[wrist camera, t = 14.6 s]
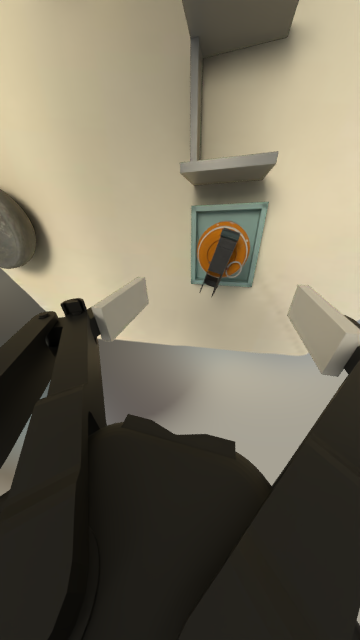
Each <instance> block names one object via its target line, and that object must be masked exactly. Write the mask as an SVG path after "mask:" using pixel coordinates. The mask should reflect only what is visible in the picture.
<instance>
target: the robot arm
mask: <svg viewBox="0 0 360 640" xmlns="http://www.w3.org/2000/svg"><path fill="white" fill-rule="evenodd" d="M147 304H148V295H147V288H146V281H145V277H137V278H136V279H134V280H132V281H131V282H129V283H128V284H126V285H125V286H123V287H122V288H120V289H118V290H117V291H115V292H114V293H112V294H111V295H109V296H108V297H106V298H105V299H103V300H101V301H100V302H98V303H97V304H95V305H94V306H92V307H91V308H89V309H86V306H85V303H84V301H83V299H81V298H76V299H70V300H67V301H64V302H63V303H61V307H62V309H63V311H64V314H65V317H62V318H58V316H57V314H56V313H55V312H53V311H49V312H43V313H40V314H38V315H36V316H34V317H33V318H32V319H31V320H30V321H29V322H28V323H27V324H25V325H24V326H23V327H22V328H21V329H20V330H19V331H18V332H17V333H16V334H15V335H14V336H12V337H11V338H10V339H9V340H8V341H7V342H6V343H5V344H4V345H2V346H1V347H0V468H1V467H2V465H3V464H4V462H5V460H6V459H7V457H8V455H9V454H10V452H11V450H12V448H13V447H14V445H15V443H16V441H17V439H18V437H19V436H20V434H21V432H22V430H23V428H24V427H25V425H26V423H27V421H28V419H29V418H30V416H31V414H32V416H31V419H30V423H29V426H28V430H27V434H26V436H25V440H24V444H23V447H22V451H21V454H20V457H19V461H18V464H17V468H16V471H15V475H14V478H13V482H12V485H11V489H10V490H9V491H7V492H6V493H5V494H3V495H2V496H0V640H360V625H359V623H358V622H357V616H358V612H359V608H360V324H359V323H358V322H356V321H355V320H354V319H352V318H350V317H348V316H346V315H343V314H341V313H340V312H339V311H338V310H337V309H336V308H335V307H333V306H332V305H331V304H330V303H329V302H328V301H326V300H325V299H324V298H323V297H322V296H321V295H319V294H318V293H317V292H316V291H315V290H314V289H312V288H311V287H310V286H309V285H298V286H297V289H296V292H295V294H294V297H293V300H292V303H291V306H290V309H289V312H288V315H287V316H288V317H289V319H290V321H291V323H292V324H293V326H294V328H295V329H296V331H297V333H298V335H299V336H300V338H301V340H302V341H303V343H304V345H305V347H306V348H307V350H308V352H309V353H310V355H311V357H312V358H313V360H314V362H315V363H316V365H317V367H318V369H319V370H320V372H321V374H324V375H330V376H337V377H338V376H339V375H340V373H341V372H342V371H343V369H345V370H346V372H347V373H348V374H349V375H348V376H347V377H346V379H345V380H344V382H343V383H342V385H341V386H340V387H339V389H338V391H337V392H336V394H335V395H334V396H333V398H332V399H331V401H330V402H329V404H328V405H327V407H326V408H325V410H324V411H323V412H322V414H321V415H320V417H319V418H318V420H317V421H316V423H315V424H314V426H313V427H312V429H311V430H310V432H309V433H308V435H307V436H306V438H305V439H304V440H303V442H302V443H301V445H300V446H299V448H298V449H297V451H296V452H295V454H294V455H293V456H292V458H291V460H290V461H289V462H288V464H287V465H286V467H285V468H284V470H283V471H282V472H281V474H280V475H279V477H278V478H277V479H276V481H275V482H274V484H273V485H272V486H271V485H270V483H269V482H268V481H267V480H266V479H265V477H264V476H263V474H262V473H261V472H259V470H258V469H257V468H256V467H255V466H254V465H253V464H252V463H251V462H250V461H249V460H247V459H246V458H245V457H243V456H242V455H240V454H239V453H237V452H235V442H234V441H230V440H226V439H223V438H219V437H215V436H210V435H207V434H195V435H193V434H192V435H175V434H173V433H171V432H170V431H168V430H167V429H165V428H163V427H162V426H160V425H159V424H157V423H155V422H154V421H152V420H149V419H145V418H142V417H138V416H134V415H130V414H128V415H127V417H126V419H125V421H124V422H120V423H115V424H112V425H108V426H107V424H106V417H105V408H104V407H105V406H104V396H103V386H102V376H101V365H100V355H99V345H98V339H97V336H99V335H101V338H102V340H103V341H109V342H112V341H113V340H114V339H115V338H116V337H117V336H118V335H119V334H120V333H121V332H122V331H123V330H124V329H125V327H126V326H127V325H128V324H129V323H130V322H131V321H132V320H133V319H134V318H135V317H136V316H137V315H138V314H139V313H140V312H141V311H142V310H143V309H144V308H145V306H146V305H147ZM50 380H51V382H50ZM49 382H50V386H49V390H48V395H47V397H46V398H42V399H40V398H41V396H42V394H43V392H44V391H45V389H46V387H47V385H48V383H49Z"/></svg>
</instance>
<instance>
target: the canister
mask: <svg viewBox="0 0 360 640" xmlns="http://www.w3.org/2000/svg"><path fill="white" fill-rule="evenodd" d="M249 252H250V242H249V238H248V235H247V233H246V232H245V230H244V229H243V228H242V227H240V226H239V225H238V224H237V223H235V222H232V221H222V222H219V223H216V224H214V225H212V226H211V227H209V228H208V229H207V230H206V231H205V232H204V233H203V234H202V236H201V238H200V239H199V242H198V246H197V258H198V261H199V264H200V266H201V268H202V269H203V270H204V271H205V272H206V276H205V279H204V282H203V284H207V285H210V286H212V287H214V291H213V294H214V292H215V290H216V288H217V287H218V285H219V283H220V281H221V278H225V277H229V278H234V277H237V276H238V275H239V274H240V273H241V271H242V267H243V265H244V264H245V263H246V261H247V259H248V256H249ZM239 270H240V271H239ZM237 271H239V273H238V274H237V275H235V276H231V275H233V274H235V273H236V272H237ZM218 278H219V279H218ZM203 284H202V286H203ZM201 289H202V287H201ZM200 292H201V290H200ZM213 294H212V296H213Z"/></svg>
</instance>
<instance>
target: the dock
mask: <svg viewBox="0 0 360 640" xmlns="http://www.w3.org/2000/svg"><path fill="white" fill-rule="evenodd" d="M182 2H183V6H184V11H185V16H186V20H187V25H188V29H189V34H190V38H191V92H190V162H181V163H180V173H181V174H182V175H183V176H184V177H185V178H186V179H187V180H188V181H190V182H191V183H192V184H193V185H205V184H218V183H230V182H243V181H255V180H263V178H264V177H265V176H266V175H267V174H268V172H269V171H270V170H271V169H272V168H273V167H274V165H275V164H276V162H277V157H278V152H279V151H277V152H268V153H260V154H251V155H242V156H234V157H225V158H216V159H207V160H200V145H201V105H202V65H203V58H207V57H210V56H214V55H218V54H222V53H226V52H230V51H234V50H238V49H242V48H246V47H250V46H254V45H258V44H262V43H266V42H270V41H274V40H278V39H281V38H285V37H287V36H288V33H289V30H290V27H291V24H292V21H293V17H294V14H295V11H296V8H297V5H298V2H299V0H182Z"/></svg>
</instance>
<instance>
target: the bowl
mask: <svg viewBox="0 0 360 640" xmlns="http://www.w3.org/2000/svg"><path fill="white" fill-rule="evenodd" d="M35 248H36V235H35V231H34V228H33V226H32V224H31V222H30V220H29V218H28V217H27V215H26V214H25V212H24V211H23V210H22V208H21V207H20V206H19V205H18V204H17V203H16V202H15V201H14V200H13V199H12V198H11V197H10V196H8V195H7V194H6V193H5V192H3V191H2V190H1V189H0V267H1V268H6V269H11V268H17V267H20V266H23V265H24V264H26V263H27V262H28V261H29V260H30V259H31V258H32V256H33V254H34V252H35Z"/></svg>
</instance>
